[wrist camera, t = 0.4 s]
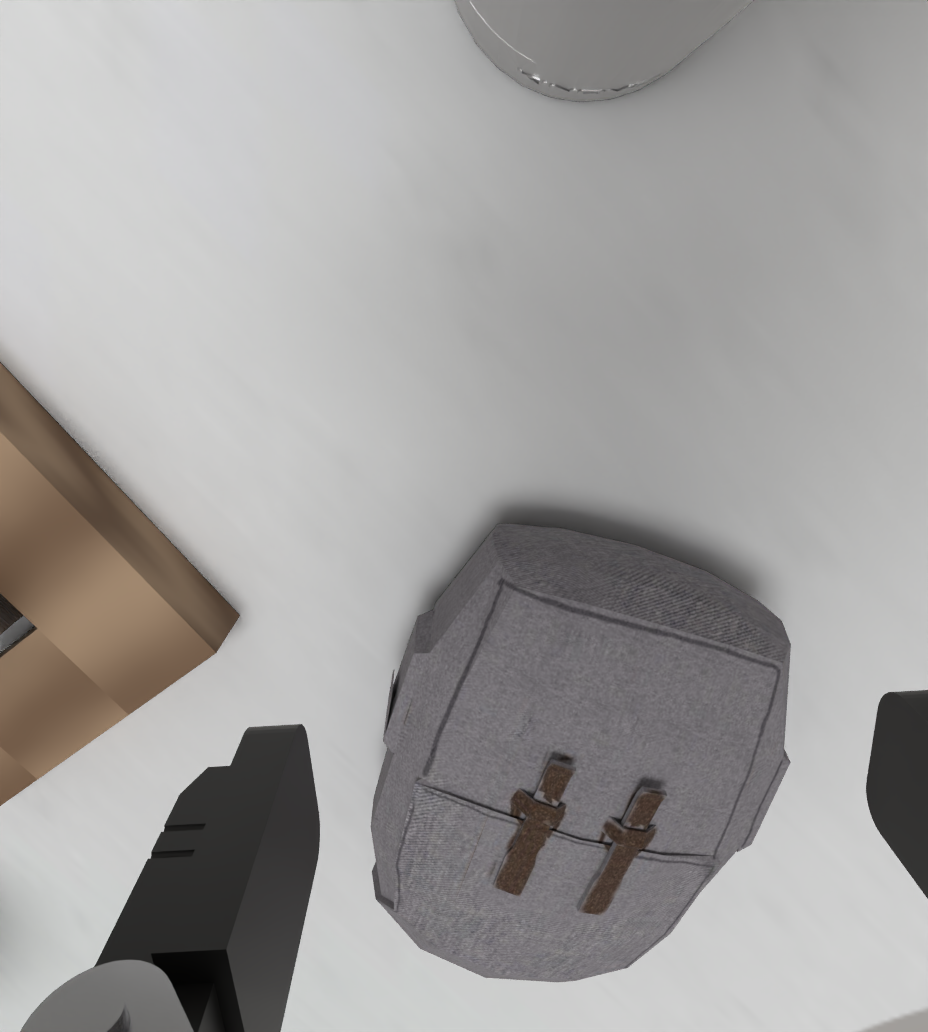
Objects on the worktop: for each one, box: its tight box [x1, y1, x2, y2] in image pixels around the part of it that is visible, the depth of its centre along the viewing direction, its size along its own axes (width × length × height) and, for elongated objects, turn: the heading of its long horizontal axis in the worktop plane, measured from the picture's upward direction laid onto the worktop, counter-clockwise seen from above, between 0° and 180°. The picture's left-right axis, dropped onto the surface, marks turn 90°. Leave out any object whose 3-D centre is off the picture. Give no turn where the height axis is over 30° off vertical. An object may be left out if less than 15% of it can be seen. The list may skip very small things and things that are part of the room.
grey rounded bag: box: [371, 524, 791, 982], centre depth 30 cm, size 15×8×20 cm
